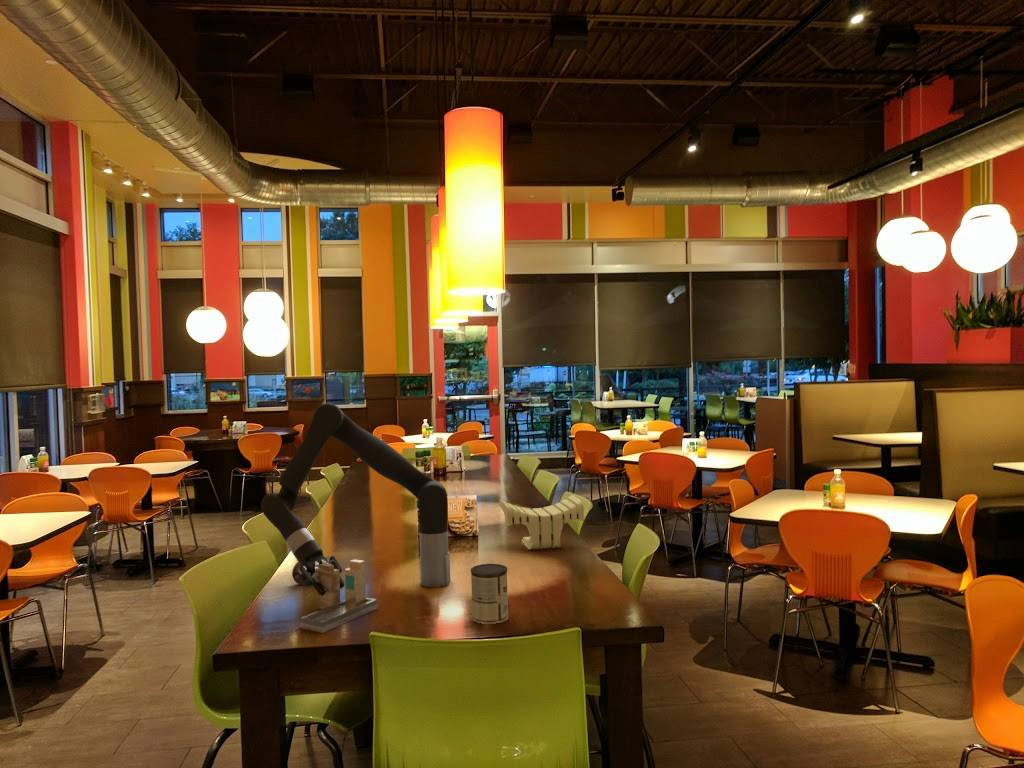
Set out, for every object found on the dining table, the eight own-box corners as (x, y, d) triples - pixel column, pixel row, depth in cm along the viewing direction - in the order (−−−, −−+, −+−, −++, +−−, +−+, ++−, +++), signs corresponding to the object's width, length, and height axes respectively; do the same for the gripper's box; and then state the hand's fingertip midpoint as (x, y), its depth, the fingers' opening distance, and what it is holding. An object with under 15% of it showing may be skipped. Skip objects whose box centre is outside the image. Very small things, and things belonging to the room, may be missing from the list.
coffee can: (472, 612, 210) (471, 564, 210) (507, 611, 211) (506, 562, 210) (471, 625, 200) (470, 574, 200) (509, 624, 200) (507, 573, 200)
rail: (355, 604, 220) (354, 556, 219) (377, 608, 215) (375, 559, 215) (300, 627, 201) (298, 575, 201) (322, 633, 197) (320, 579, 196)
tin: (292, 586, 239) (291, 561, 239) (292, 584, 242) (292, 558, 242) (339, 582, 243) (339, 557, 243) (339, 579, 246) (338, 554, 246)
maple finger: (330, 604, 221) (329, 561, 220) (340, 606, 218) (339, 563, 218) (319, 608, 217) (318, 564, 217) (330, 610, 215) (328, 566, 214)
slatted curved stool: (508, 553, 276) (507, 506, 275) (500, 543, 291) (499, 498, 291) (584, 547, 281) (583, 501, 281) (572, 538, 297) (572, 494, 297)
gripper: (291, 544, 215) (321, 589, 209) (327, 534, 227) (356, 576, 221) (280, 560, 218) (309, 605, 212) (315, 549, 230) (344, 591, 224)
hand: (333, 590), depth 217 cm, fingers open, 7 cm apart
